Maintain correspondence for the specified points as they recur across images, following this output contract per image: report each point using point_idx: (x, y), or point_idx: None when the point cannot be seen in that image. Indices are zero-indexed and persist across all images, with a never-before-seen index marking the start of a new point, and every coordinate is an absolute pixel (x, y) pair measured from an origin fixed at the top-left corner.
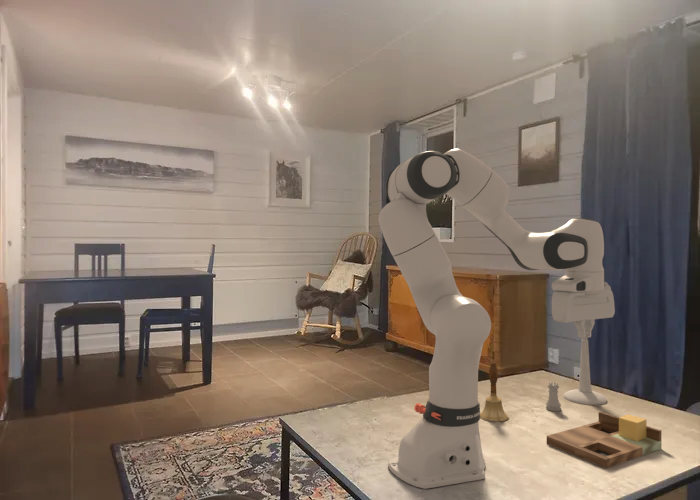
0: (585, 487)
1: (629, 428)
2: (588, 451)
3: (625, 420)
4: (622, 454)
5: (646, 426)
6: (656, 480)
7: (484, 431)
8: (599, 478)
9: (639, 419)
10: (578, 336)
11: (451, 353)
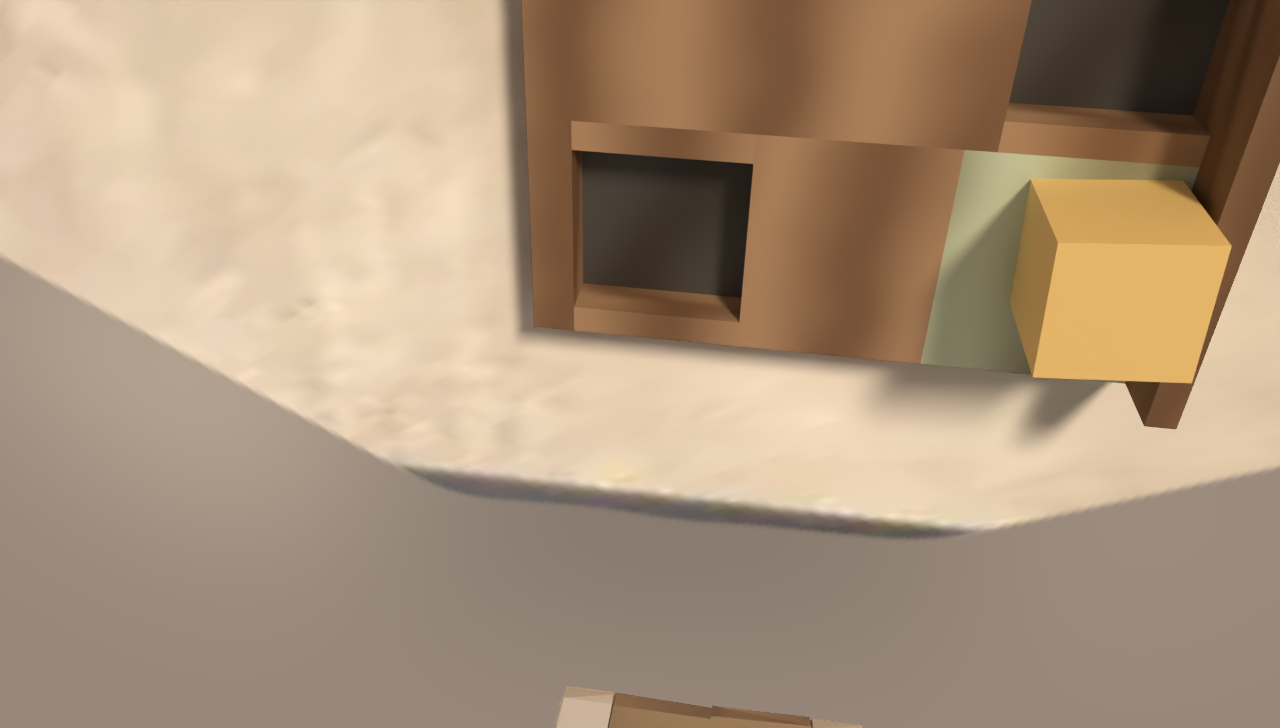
0: (269, 341)
1: (1032, 291)
2: (546, 209)
3: (1047, 291)
4: (698, 340)
5: None
6: (645, 484)
7: None
8: (410, 333)
9: (1143, 355)
10: (564, 704)
11: None
